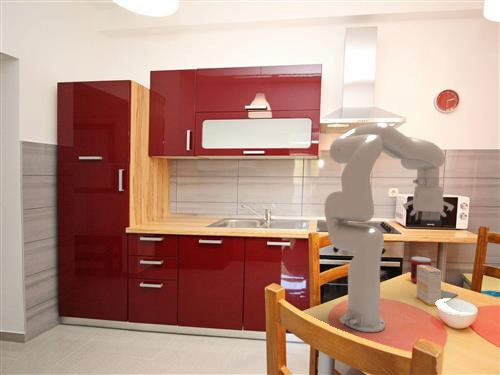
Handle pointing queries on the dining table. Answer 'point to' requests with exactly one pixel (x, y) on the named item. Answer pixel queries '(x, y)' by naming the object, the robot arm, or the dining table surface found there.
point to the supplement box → (428, 284)
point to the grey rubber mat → (447, 294)
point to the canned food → (414, 263)
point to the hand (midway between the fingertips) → (427, 225)
